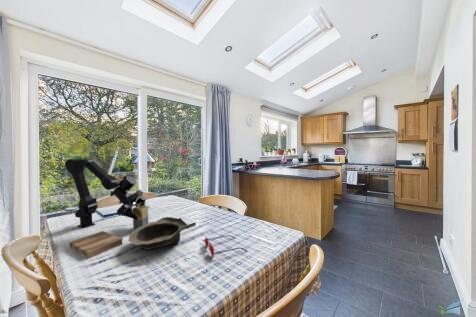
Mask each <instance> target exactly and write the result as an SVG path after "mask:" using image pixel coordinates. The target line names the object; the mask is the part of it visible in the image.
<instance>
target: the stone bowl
mask: <svg viewBox="0 0 476 317" xmlns="http://www.w3.org/2000/svg"><path fill="white" fill-rule="evenodd" d="M187 226H188V223H187V222H186V221H184V220H183V219H182V218H181V217H180V218H177V217H172V216H170V217H169V216H166V217H161V218H160V219H157V221H156V220H155V221H150V222H148V224H146V225H143V226H141V227H139V228H137V229H136V230H133V231H132V232H131V233H130V234H129V236H128V242H129V243H131V244H133V245H136V246H140V248H141V249H142V250H151V249H156V248H161V247H164V246H167V245H170V244H173V245H176V244H179V243H180V240H181V232H182V231H183V230H184V229H185V227H187Z"/></svg>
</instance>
